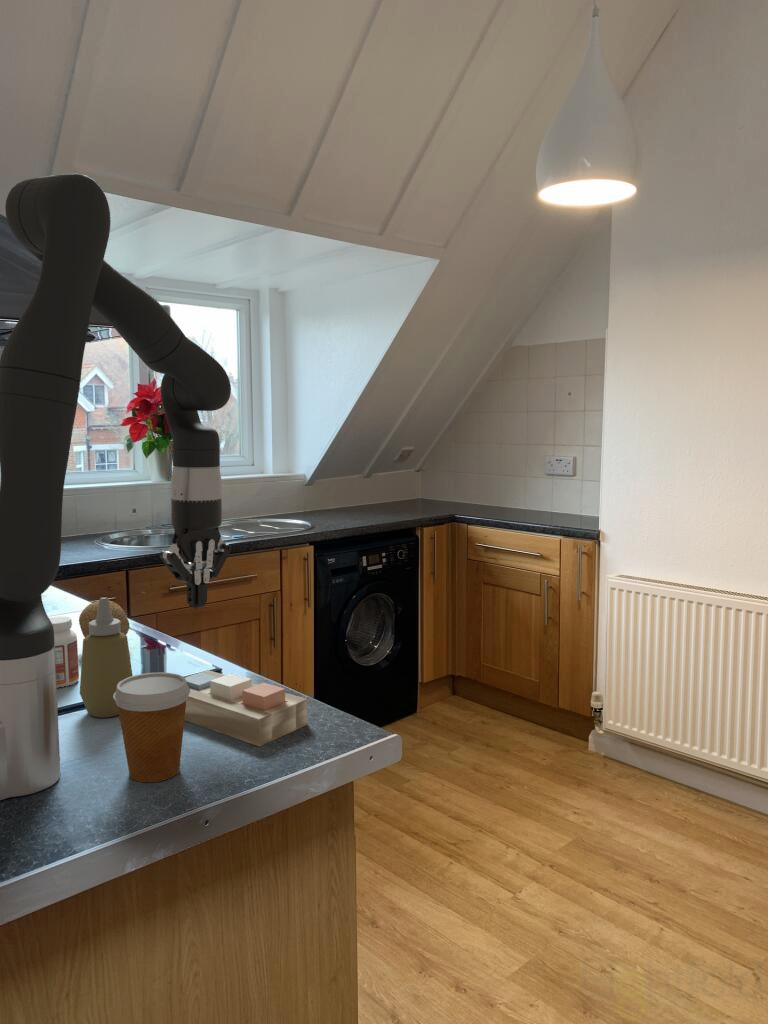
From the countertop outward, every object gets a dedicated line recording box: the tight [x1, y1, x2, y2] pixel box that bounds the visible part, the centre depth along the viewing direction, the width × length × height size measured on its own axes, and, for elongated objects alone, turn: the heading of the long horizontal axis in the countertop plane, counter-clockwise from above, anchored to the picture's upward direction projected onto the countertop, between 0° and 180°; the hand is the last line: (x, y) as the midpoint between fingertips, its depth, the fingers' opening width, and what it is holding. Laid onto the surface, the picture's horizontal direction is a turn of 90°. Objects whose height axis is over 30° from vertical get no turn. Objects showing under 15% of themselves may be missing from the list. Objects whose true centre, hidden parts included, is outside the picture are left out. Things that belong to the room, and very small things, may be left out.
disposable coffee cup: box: [113, 671, 190, 783], centre depth 107 cm, size 10×10×12 cm
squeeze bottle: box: [79, 597, 134, 718], centre depth 127 cm, size 8×8×18 cm
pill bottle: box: [48, 616, 80, 689], centre depth 141 cm, size 6×6×11 cm
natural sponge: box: [78, 599, 130, 638], centre depth 159 cm, size 9×9×10 cm
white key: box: [210, 673, 253, 701], centre depth 126 cm, size 4×4×3 cm
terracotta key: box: [242, 682, 286, 711], centre depth 122 cm, size 4×4×3 cm
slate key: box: [184, 671, 219, 691], centre depth 130 cm, size 4×4×3 cm
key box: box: [184, 669, 308, 747], centre depth 126 cm, size 10×22×4 cm, turn 53°
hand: (197, 606), depth 128 cm, fingers closed
